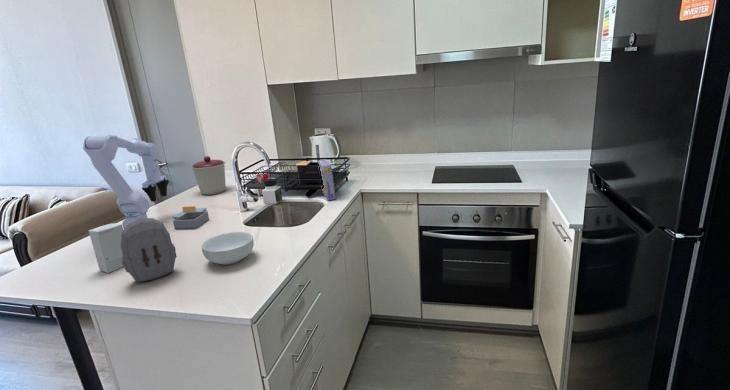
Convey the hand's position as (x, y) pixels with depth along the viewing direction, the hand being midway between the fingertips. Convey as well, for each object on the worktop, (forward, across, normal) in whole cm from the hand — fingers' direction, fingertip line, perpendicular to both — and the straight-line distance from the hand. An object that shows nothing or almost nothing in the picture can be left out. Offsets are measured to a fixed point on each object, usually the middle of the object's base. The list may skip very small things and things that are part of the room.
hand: (159, 198), depth 174 cm
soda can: (+11, +36, -36) cm, 52 cm away
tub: (+10, -7, -18) cm, 22 cm away
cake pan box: (+11, +29, -72) cm, 78 cm away
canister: (+11, +44, -2) cm, 45 cm away
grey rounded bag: (+11, -54, -32) cm, 64 cm away
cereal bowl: (+11, -42, -52) cm, 68 cm away
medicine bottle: (+11, +22, -45) cm, 51 cm away
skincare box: (+11, -46, -12) cm, 49 cm away
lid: (+11, +7, -9) cm, 16 cm away
